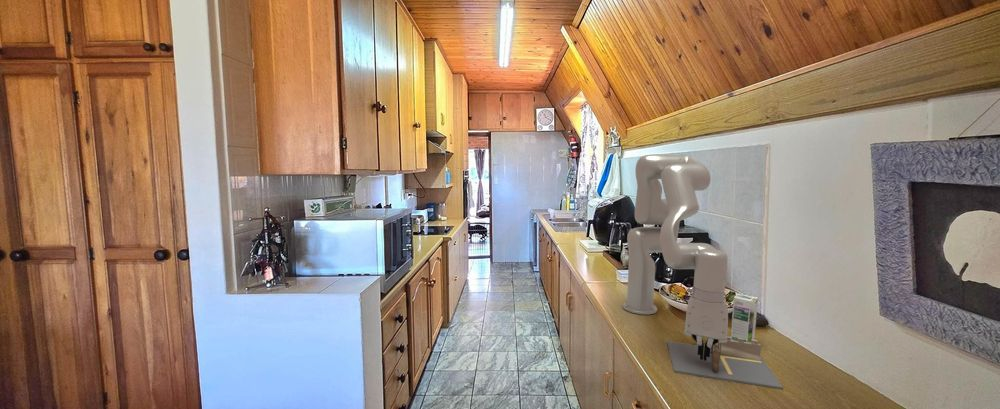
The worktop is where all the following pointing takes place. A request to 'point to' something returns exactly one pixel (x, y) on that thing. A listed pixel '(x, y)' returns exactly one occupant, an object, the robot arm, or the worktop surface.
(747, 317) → the syrup box
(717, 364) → the fence gate
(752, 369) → the card
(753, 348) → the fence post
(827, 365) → the worktop surface
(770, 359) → the worktop surface
